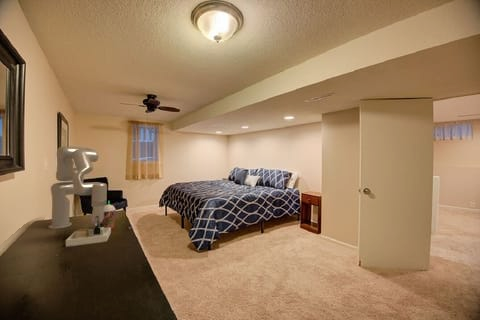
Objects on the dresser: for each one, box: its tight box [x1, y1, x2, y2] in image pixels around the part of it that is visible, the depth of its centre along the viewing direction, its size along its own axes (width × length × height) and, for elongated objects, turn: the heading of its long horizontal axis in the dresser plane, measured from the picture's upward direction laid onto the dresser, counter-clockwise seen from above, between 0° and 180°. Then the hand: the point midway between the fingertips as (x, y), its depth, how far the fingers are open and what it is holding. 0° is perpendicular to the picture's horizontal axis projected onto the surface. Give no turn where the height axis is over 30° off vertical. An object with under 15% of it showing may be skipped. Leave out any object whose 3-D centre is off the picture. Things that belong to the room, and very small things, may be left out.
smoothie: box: [102, 200, 117, 231], centre depth 139 cm, size 8×8×20 cm
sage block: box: [92, 227, 104, 237], centre depth 123 cm, size 5×5×5 cm
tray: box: [65, 228, 112, 248], centre depth 121 cm, size 16×19×4 cm
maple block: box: [76, 228, 90, 239], centre depth 120 cm, size 5×5×5 cm
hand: (98, 231), depth 123 cm, fingers open, 7 cm apart
